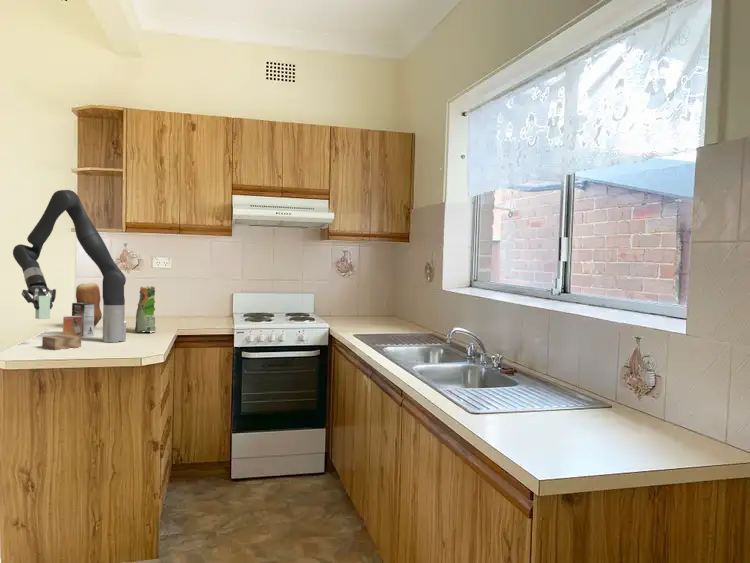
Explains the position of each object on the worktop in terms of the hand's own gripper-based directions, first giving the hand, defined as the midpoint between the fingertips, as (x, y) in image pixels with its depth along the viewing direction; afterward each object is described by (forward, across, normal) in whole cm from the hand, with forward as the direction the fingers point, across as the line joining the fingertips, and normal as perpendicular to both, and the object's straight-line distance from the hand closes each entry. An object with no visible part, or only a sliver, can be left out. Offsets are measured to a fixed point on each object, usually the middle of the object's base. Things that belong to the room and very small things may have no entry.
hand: (44, 308), depth 256 cm
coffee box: (-7, +27, +30) cm, 41 cm away
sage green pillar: (+2, 0, +5) cm, 5 cm away
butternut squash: (-25, +40, +48) cm, 67 cm away
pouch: (-1, +56, +25) cm, 61 cm away
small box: (-1, +19, +25) cm, 31 cm away
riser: (+19, +4, +5) cm, 20 cm away
